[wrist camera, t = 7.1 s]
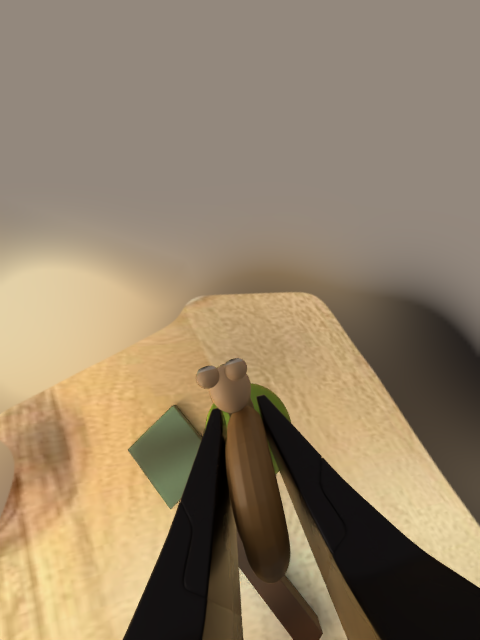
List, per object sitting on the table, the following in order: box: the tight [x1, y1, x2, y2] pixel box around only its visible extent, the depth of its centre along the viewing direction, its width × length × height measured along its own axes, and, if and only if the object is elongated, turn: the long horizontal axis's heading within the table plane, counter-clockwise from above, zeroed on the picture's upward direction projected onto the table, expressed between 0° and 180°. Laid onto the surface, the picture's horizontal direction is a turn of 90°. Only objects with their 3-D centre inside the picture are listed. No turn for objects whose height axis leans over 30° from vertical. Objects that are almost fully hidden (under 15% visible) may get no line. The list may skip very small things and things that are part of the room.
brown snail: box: [196, 358, 291, 583], centre depth 9 cm, size 5×6×12 cm
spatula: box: [128, 405, 323, 640], centre depth 18 cm, size 22×6×1 cm, turn 45°
